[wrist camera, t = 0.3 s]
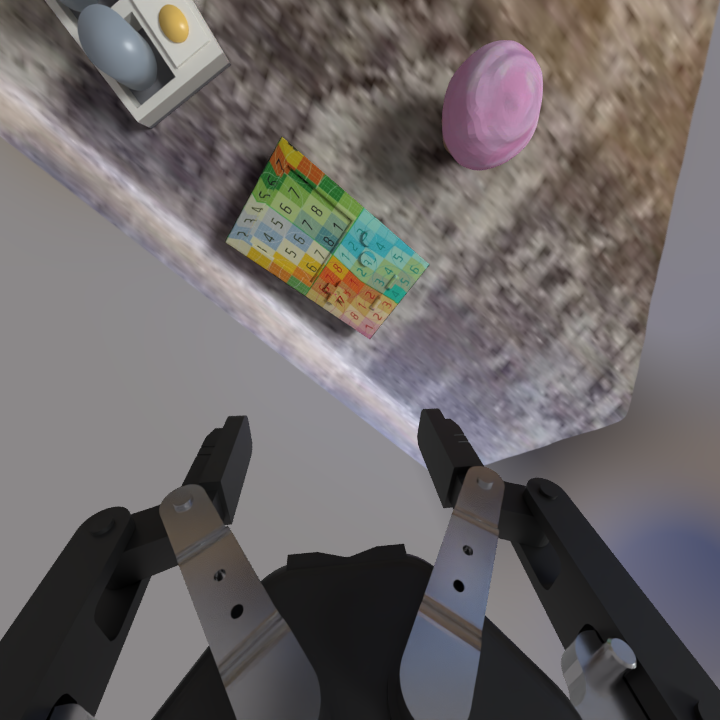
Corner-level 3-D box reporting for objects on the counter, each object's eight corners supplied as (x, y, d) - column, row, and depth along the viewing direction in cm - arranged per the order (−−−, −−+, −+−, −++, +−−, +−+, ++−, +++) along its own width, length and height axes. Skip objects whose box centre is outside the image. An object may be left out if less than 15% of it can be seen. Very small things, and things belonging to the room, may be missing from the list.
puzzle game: (370, 342, 38) (222, 242, 31) (366, 329, 42) (234, 239, 35) (432, 265, 34) (280, 134, 27) (420, 260, 38) (285, 144, 31)
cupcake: (498, 166, 34) (560, 151, 26) (426, 184, 34) (463, 174, 25) (499, 66, 30) (573, 5, 21) (417, 85, 30) (457, 33, 21)
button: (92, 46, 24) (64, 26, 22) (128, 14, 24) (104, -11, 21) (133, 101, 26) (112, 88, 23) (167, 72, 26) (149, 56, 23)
